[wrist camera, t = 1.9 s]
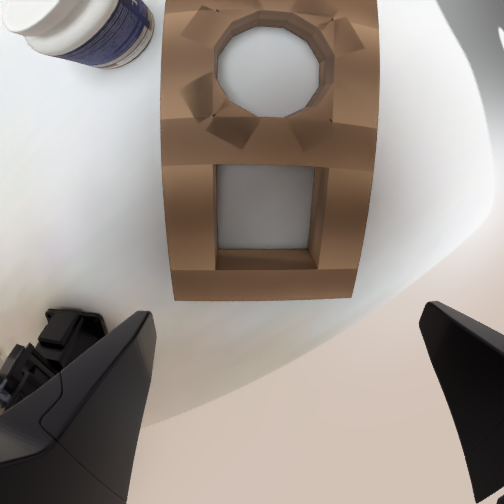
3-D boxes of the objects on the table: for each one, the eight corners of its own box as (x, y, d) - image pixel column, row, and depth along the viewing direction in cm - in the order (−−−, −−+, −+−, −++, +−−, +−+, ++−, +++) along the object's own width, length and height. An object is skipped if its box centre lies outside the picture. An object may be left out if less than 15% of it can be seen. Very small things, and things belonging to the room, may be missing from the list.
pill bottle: (172, 19, 13) (121, -51, 5) (120, 82, 15) (29, 65, 6) (117, -8, 12) (48, -65, 3) (70, 52, 13) (-23, 31, 5)
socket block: (338, 275, 22) (351, 297, 19) (181, 277, 21) (174, 300, 19) (358, 12, 13) (376, -1, 11) (177, 0, 13) (167, -18, 10)
